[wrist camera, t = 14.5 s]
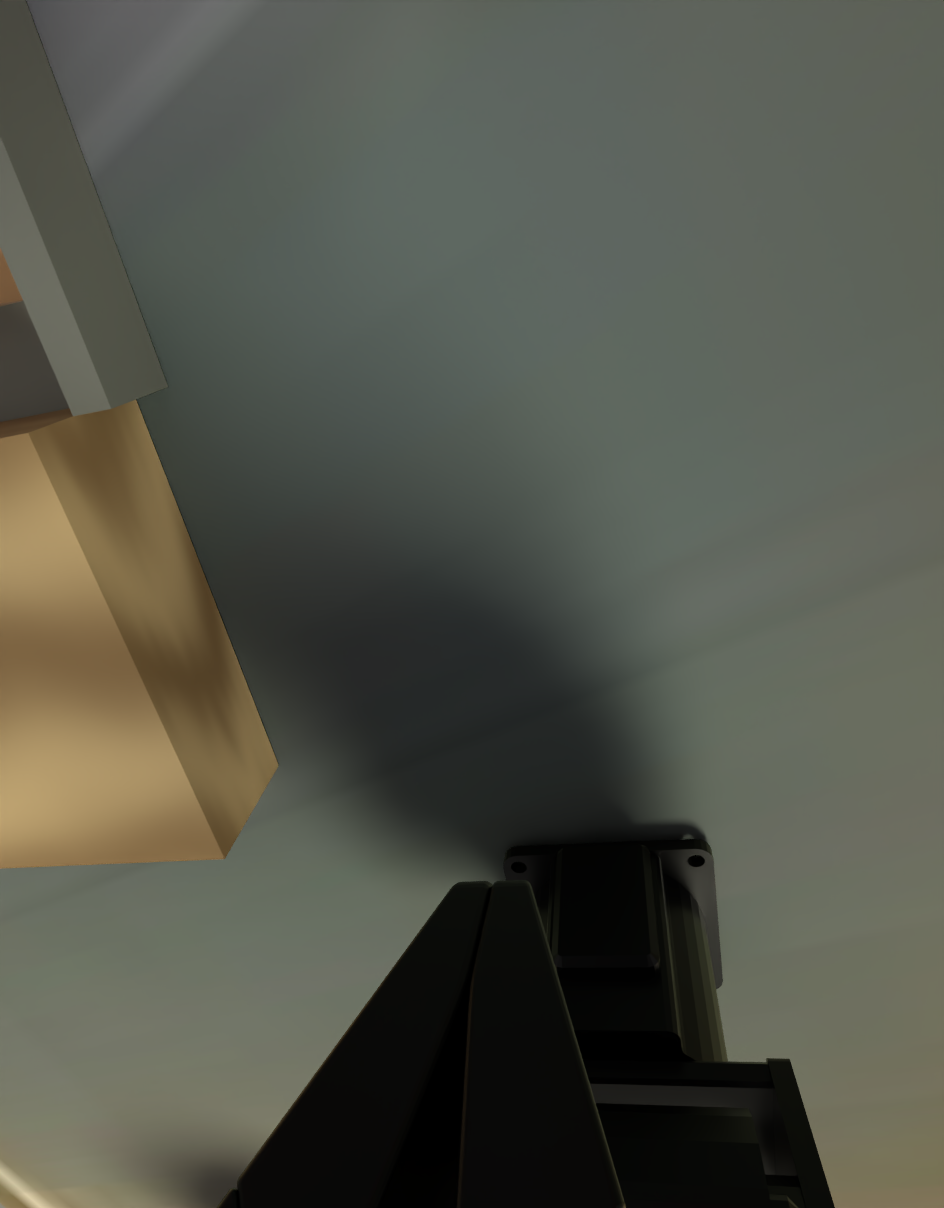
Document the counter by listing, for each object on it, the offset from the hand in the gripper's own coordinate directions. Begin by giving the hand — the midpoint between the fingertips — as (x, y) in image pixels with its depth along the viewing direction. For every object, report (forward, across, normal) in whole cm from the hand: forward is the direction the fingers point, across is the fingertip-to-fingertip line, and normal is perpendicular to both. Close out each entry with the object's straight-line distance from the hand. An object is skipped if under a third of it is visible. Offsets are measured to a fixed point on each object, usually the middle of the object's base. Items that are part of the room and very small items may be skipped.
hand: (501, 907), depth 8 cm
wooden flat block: (+12, +18, +1) cm, 22 cm away
